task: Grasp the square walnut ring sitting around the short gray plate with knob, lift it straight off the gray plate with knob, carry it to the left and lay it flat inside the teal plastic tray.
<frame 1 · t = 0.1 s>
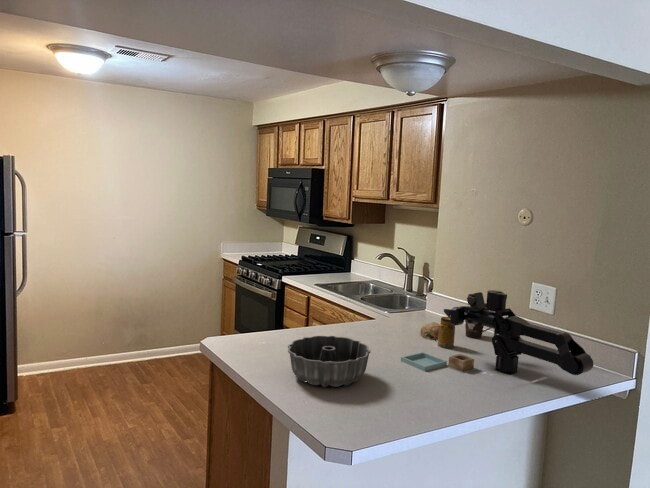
hand: (452, 309, 198), 17 cm above the worktop, tool horizontal, fingers open, 9 cm apart
tray: (423, 364, 183), on the worktop
condiment: (447, 349, 203), on the worktop
coffee mug: (475, 337, 220), on the worktop
bundt pan: (327, 378, 167), on the worktop
gray plate with knob: (460, 369, 180), on the worktop
bread roll: (432, 337, 218), on the worktop
ring: (460, 367, 180), point 1 cm above the worktop, touching gray plate with knob
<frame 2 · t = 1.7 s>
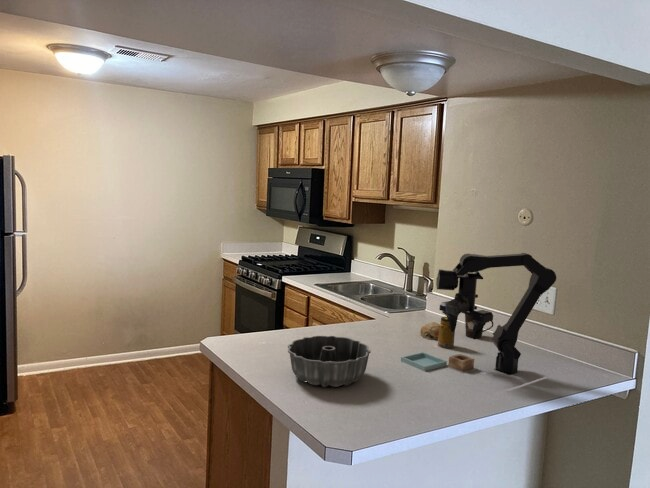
hand: (463, 335, 179), 12 cm above the worktop, tool pointing down, fingers open, 9 cm apart
nothing on the worktop moved.
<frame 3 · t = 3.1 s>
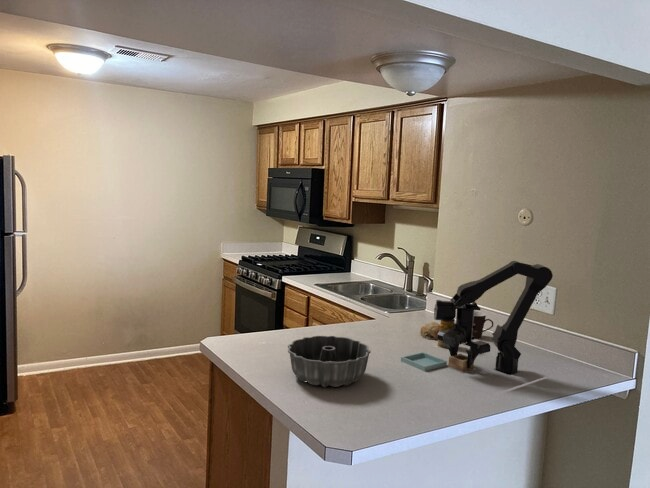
hand: (461, 365, 180), 1 cm above the worktop, tool pointing down, fingers closed on ring, 6 cm apart
ring: (460, 367, 180), point 1 cm above the worktop, touching gripper, gray plate with knob
everything else where it was.
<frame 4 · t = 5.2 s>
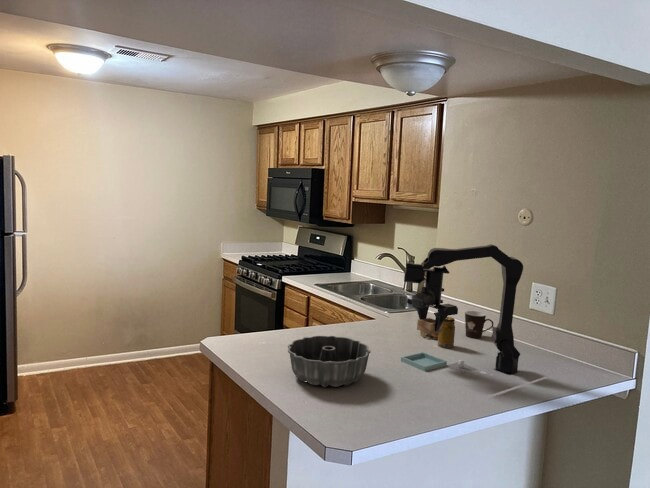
hand: (429, 328, 181), 13 cm above the worktop, tool pointing down, fingers closed on ring, 6 cm apart
ring: (429, 330, 181), point 12 cm above the worktop, touching gripper
everything else where it was.
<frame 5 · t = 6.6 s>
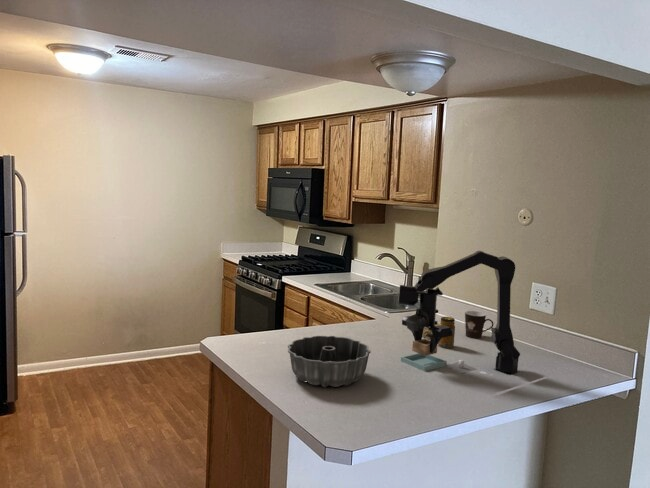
hand: (424, 350, 182), 5 cm above the worktop, tool pointing down, fingers closed on ring, 6 cm apart
ring: (424, 351, 182), point 5 cm above the worktop, touching gripper
everything else where it was.
when the fingers open (3 cm above the worktop, at t = 7.6 s): ring drops 1 cm, resting on tray.
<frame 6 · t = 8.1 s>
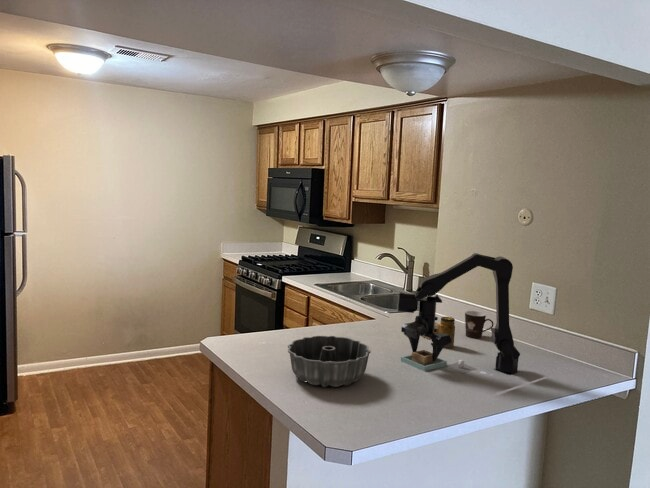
hand: (424, 357, 182), 3 cm above the worktop, tool pointing down, fingers open, 9 cm apart
ring: (423, 363, 183), point 1 cm above the worktop, touching tray
everything else where it was.
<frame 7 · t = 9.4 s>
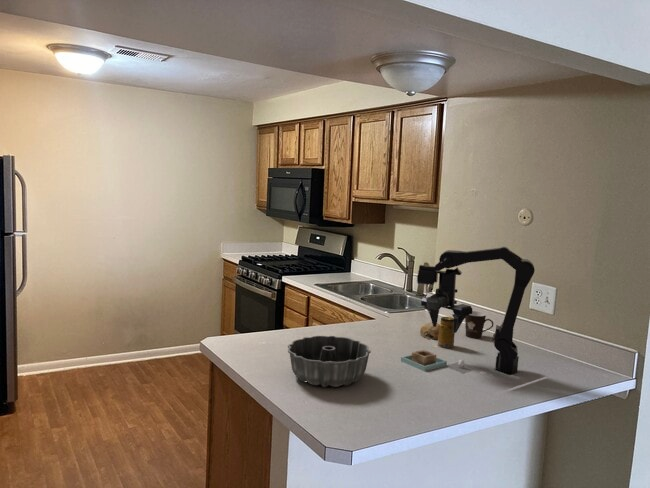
hand: (444, 329, 185), 12 cm above the worktop, tool pointing down, fingers open, 9 cm apart
nothing on the worktop moved.
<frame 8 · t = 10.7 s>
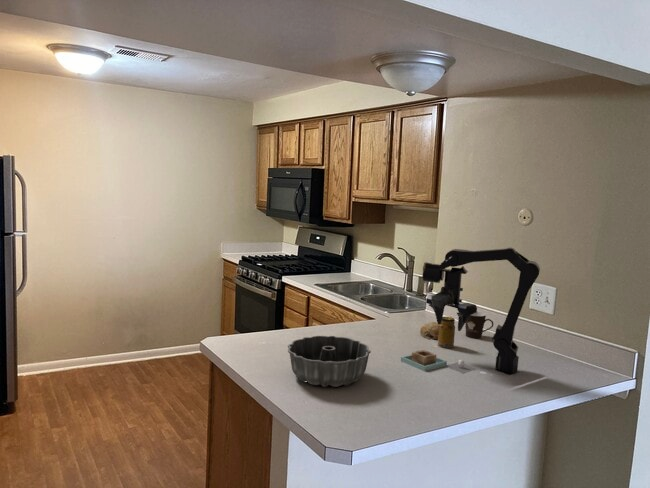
hand: (449, 327, 186), 13 cm above the worktop, tool pointing down, fingers open, 9 cm apart
nothing on the worktop moved.
at the end: ring inside the target area on the tray (0.0 cm from its centre), point 0.6 cm above the tray's base; ring tilted 0°; the gripper is holding nothing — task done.
